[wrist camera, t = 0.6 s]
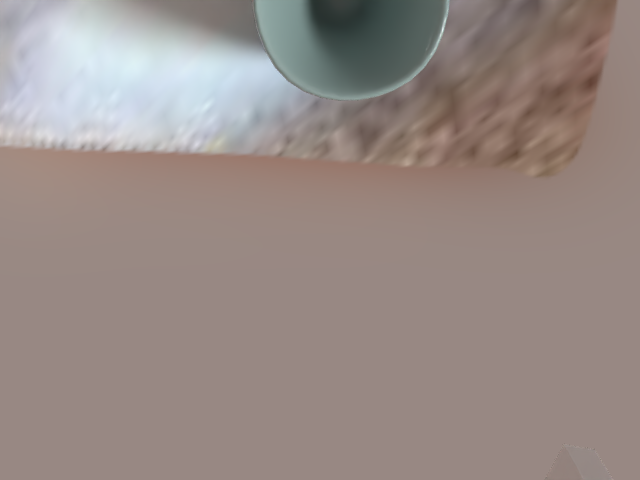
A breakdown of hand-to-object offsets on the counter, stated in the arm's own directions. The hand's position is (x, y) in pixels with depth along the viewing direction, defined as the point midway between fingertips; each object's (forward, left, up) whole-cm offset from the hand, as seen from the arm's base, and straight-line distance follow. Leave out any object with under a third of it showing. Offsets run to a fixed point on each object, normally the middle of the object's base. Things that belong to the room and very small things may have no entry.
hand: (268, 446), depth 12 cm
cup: (-9, +1, -24) cm, 26 cm away
